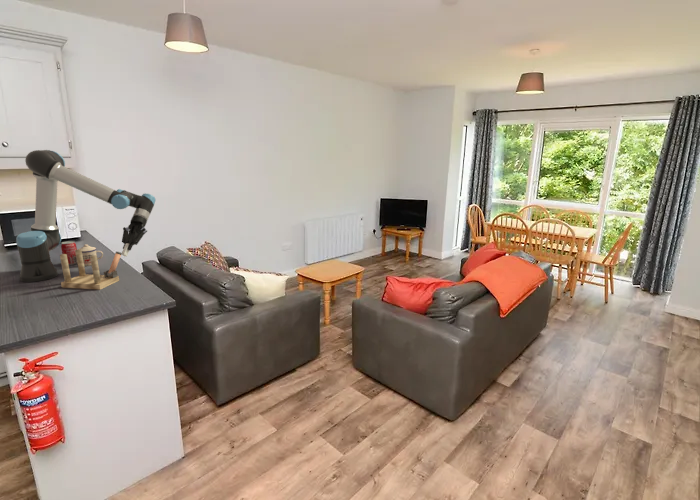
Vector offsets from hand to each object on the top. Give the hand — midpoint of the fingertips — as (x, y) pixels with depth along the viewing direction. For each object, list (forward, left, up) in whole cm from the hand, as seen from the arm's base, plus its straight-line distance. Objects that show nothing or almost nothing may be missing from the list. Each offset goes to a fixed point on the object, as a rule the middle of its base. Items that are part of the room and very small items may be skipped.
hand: (124, 255), depth 196 cm
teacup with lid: (-33, +16, -11) cm, 38 cm away
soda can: (-44, +14, -11) cm, 47 cm away
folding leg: (-1, -11, -8) cm, 14 cm away
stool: (-8, -15, -11) cm, 20 cm away
